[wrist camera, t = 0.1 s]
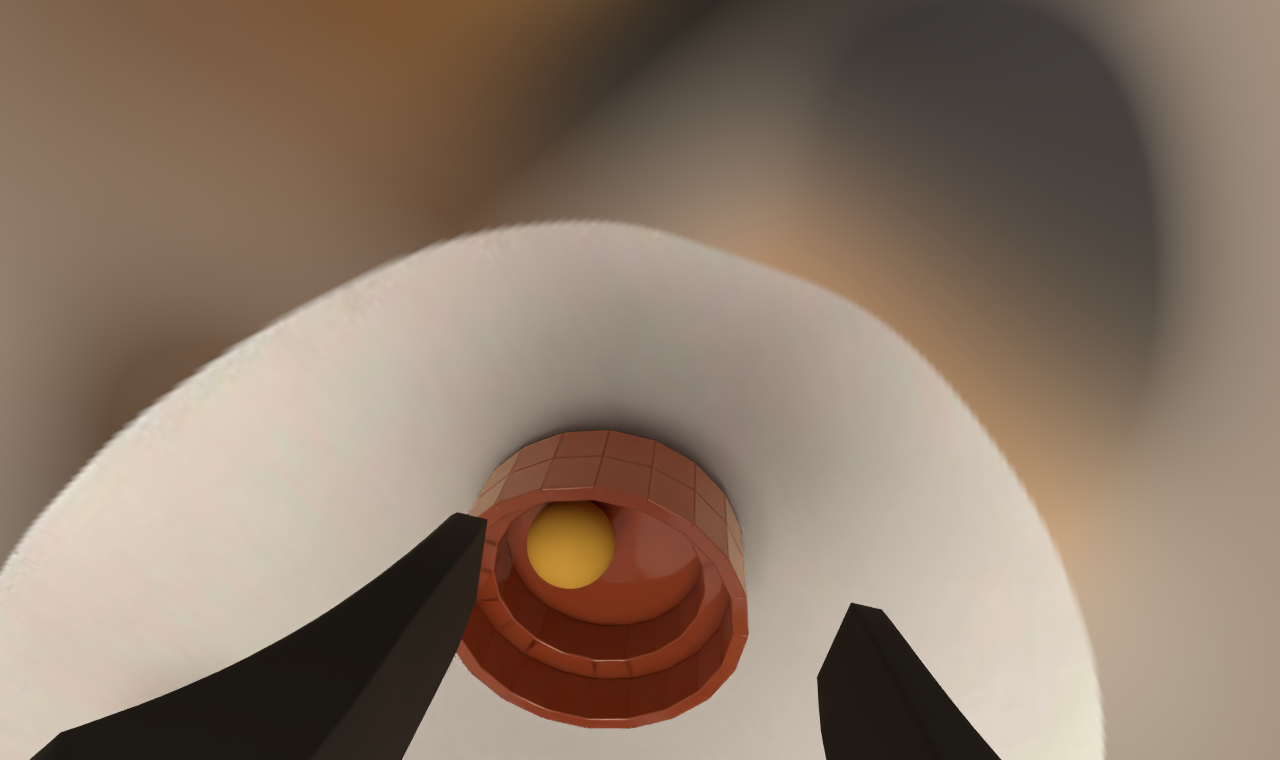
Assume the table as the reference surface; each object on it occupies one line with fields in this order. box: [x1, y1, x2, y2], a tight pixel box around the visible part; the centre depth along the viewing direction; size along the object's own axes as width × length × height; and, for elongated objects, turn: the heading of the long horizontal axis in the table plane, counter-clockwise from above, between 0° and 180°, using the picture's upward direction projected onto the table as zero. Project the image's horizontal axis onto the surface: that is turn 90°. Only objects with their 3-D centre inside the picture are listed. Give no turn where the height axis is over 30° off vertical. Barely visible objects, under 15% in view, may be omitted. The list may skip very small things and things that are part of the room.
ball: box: [527, 500, 615, 589], centre depth 23 cm, size 3×3×3 cm
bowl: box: [456, 430, 749, 728], centre depth 23 cm, size 10×10×4 cm
